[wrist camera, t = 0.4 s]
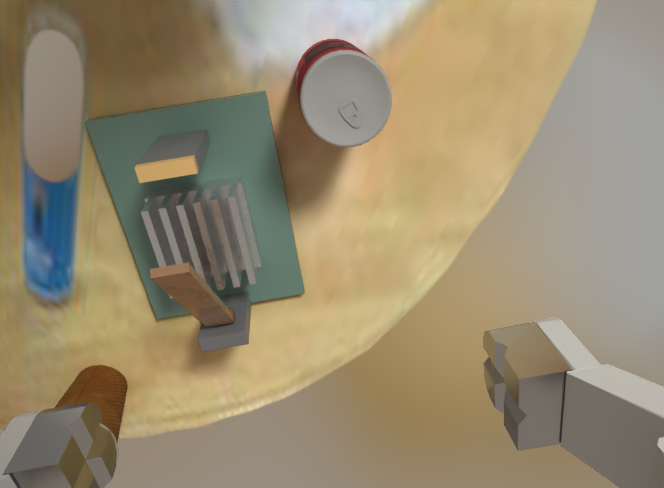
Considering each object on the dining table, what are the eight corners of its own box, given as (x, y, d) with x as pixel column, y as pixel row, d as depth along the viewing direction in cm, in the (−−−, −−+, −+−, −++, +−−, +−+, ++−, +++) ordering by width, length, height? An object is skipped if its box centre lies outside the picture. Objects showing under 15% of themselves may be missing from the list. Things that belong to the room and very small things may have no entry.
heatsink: (149, 190, 54) (135, 212, 49) (243, 174, 55) (239, 195, 49) (175, 270, 59) (166, 299, 54) (261, 256, 59) (260, 283, 54)
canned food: (334, 133, 55) (347, 165, 45) (278, 79, 51) (279, 101, 42) (387, 80, 53) (412, 101, 43) (332, 20, 50) (346, 29, 40)
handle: (149, 259, 40) (150, 278, 40) (188, 252, 40) (189, 271, 40) (207, 314, 56) (208, 328, 55) (234, 309, 56) (236, 323, 55)
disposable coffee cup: (127, 419, 69) (100, 498, 59) (54, 399, 67) (12, 478, 56) (150, 368, 66) (126, 442, 55) (74, 345, 63) (34, 418, 53)
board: (88, 119, 51) (45, 150, 42) (265, 90, 52) (263, 114, 42) (158, 314, 62) (137, 374, 53) (304, 289, 63) (309, 343, 53)
